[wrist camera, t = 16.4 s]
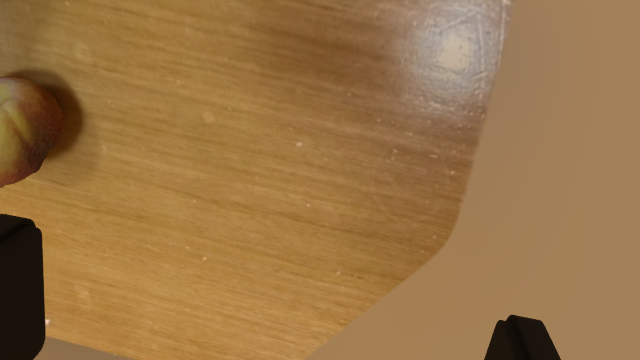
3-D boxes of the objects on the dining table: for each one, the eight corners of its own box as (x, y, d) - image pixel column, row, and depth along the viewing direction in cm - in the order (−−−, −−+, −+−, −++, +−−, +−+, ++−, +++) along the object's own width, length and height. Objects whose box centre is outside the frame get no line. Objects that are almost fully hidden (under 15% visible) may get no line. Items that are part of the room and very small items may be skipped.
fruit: (101, 103, 41) (40, 128, 34) (60, 182, 44) (-5, 222, 37) (16, 47, 40) (-66, 60, 33) (-20, 131, 43) (-104, 161, 36)
